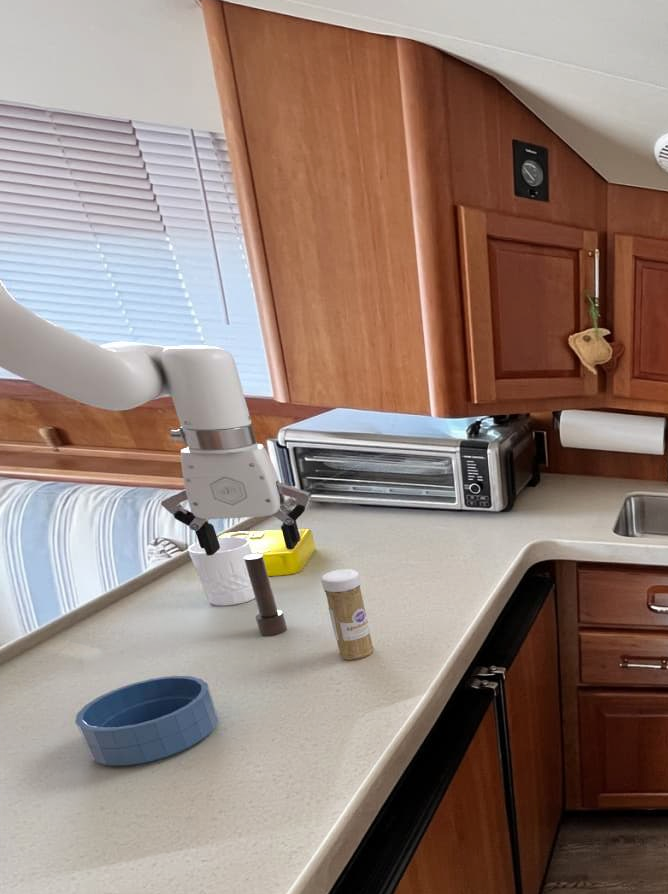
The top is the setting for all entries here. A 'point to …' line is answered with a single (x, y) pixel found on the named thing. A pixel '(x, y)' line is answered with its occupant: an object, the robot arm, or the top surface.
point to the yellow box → (279, 550)
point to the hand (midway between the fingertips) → (253, 549)
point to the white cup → (224, 571)
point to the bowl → (147, 720)
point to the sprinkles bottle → (347, 613)
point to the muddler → (264, 597)
